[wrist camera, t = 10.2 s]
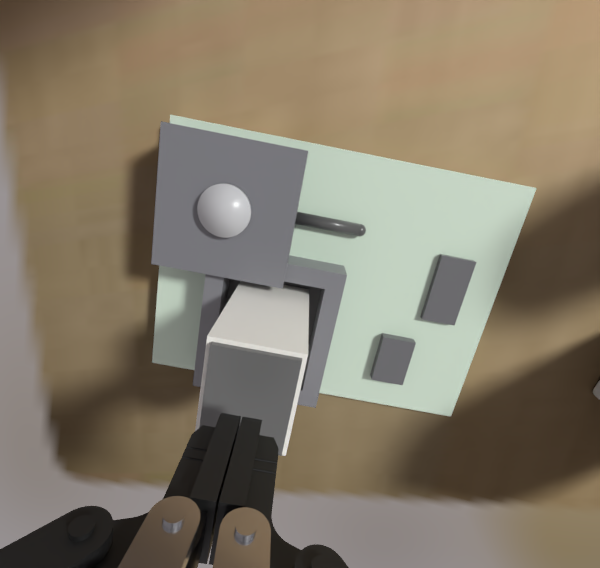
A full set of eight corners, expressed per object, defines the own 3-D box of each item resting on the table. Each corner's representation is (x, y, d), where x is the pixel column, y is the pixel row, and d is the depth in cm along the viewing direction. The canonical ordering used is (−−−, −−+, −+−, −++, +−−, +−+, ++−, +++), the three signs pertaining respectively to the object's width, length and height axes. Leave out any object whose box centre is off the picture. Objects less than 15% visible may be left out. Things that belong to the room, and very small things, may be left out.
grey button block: (179, 126, 20) (157, 120, 17) (380, 166, 20) (391, 167, 17) (168, 253, 22) (148, 266, 19) (350, 287, 22) (356, 305, 19)
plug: (243, 276, 22) (205, 338, 14) (309, 289, 22) (308, 357, 14) (230, 359, 24) (191, 455, 16) (292, 370, 24) (283, 471, 16)
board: (178, 117, 21) (155, 109, 18) (524, 186, 21) (560, 190, 18) (159, 353, 25) (138, 379, 22) (444, 405, 26) (462, 437, 23)
